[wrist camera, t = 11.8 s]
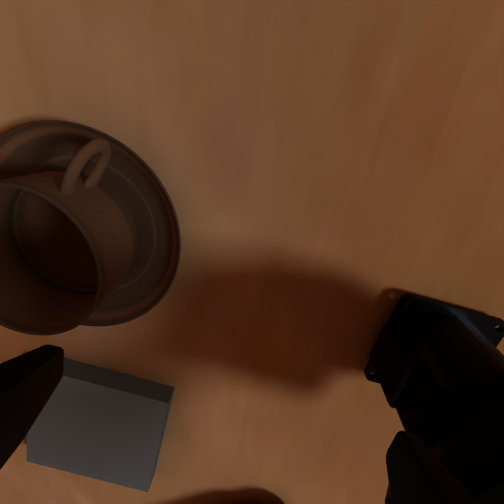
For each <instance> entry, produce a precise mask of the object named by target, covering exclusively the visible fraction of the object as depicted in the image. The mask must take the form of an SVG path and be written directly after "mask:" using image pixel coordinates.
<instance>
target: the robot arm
mask: <svg viewBox="0 0 504 504" xmlns="http://www.w3.org/2000/svg"><path fill="white" fill-rule="evenodd" d="M408 301H412V303H411V304H409V305H406V303H407V302H408ZM498 325H499V327H498V328H495V327H496V326H498ZM503 337H504V321H503V320H502V319H500V318H497V317H493V316H490V315H486V314H483V313H479V312H475V311H472V310H468V309H464V308H461V307H457V306H454V305H450V304H446V303H443V302H439V301H435V300H432V299H428V298H425V297H421V296H417V295H414V294H405V295H403V296H402V297H401V298H400V300H399V302H398V304H397V306H396V308H395V310H394V312H393V314H392V316H391V318H390V320H389V322H387V323H386V324H384V326H383V328H382V330H381V332H380V334H379V336H378V338H377V340H376V342H375V344H374V346H373V348H372V350H371V352H370V359H369V361H368V363H367V365H366V367H365V369H364V373H365V376H366V378H367V379H368V380H369V381H372V382H376V383H380V384H381V386H382V389H383V392H384V394H385V397H386V399H387V402H388V404H389V405H390V407H392V408H396V410H397V412H398V415H399V417H400V420H401V422H402V425H403V427H404V430H405V431H399V432H398V433H397V434H396V436H395V438H394V439H393V441H392V443H391V445H390V447H389V448H388V450H387V454H386V465H387V472H388V480H389V485H388V489H387V494H386V498H385V504H504V355H503V354H502V353H501V352H500V351H499V350H498V349H497V348H496V347H497V345H498V344H499V342H500V341H501V340H502V338H503ZM63 372H64V351H63V349H62V348H61V347H57V346H53V345H44V346H41V347H39V348H37V349H34V350H32V351H29V352H27V353H25V354H22V355H20V356H18V357H15V358H13V359H10V360H8V361H6V362H3V363H1V364H0V469H1V468H2V467H3V465H4V464H5V463H6V462H7V460H8V459H9V458H10V456H11V455H12V454H13V452H14V451H15V450H16V449H17V447H18V446H19V444H20V443H21V442H22V440H23V439H24V438H25V436H26V435H27V433H28V432H29V430H30V429H31V427H32V425H33V424H34V422H35V421H36V419H37V418H38V416H39V414H40V413H41V411H42V410H43V408H44V406H45V405H46V403H47V402H48V400H49V399H50V397H51V395H52V394H53V392H54V391H55V389H56V387H57V386H58V384H59V383H60V381H61V379H62V376H63ZM372 372H375V373H374V374H370V373H372Z"/></svg>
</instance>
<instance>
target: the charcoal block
mask: <svg viewBox="0 0 504 504" xmlns="http://www.w3.org/2000/svg"><path fill="white" fill-rule="evenodd" d="M174 388H175V387H171V386H168V385H164V384H160V383H156V382H153V381H149V380H145V379H141V378H138V377H134V376H130V375H127V374H123V373H119V372H115V371H112V370H108V369H104V368H100V367H97V366H93V365H89V364H85V363H82V362H78V361H74V360H70V359H67V358H64V372H63V376H62V379H61V381H60V383H59V384H58V386H57V387H56V389H55V391H54V392H53V394H52V395H51V397H50V399H49V400H48V402H47V403H46V405H45V406H44V408H43V410H42V411H41V413H40V414H39V416H38V418H37V419H36V421H35V422H34V424H33V425H32V427H31V429H30V430H29V432H28V433H27V461H28V462H32V463H36V464H40V465H44V466H48V467H52V468H56V469H60V470H64V471H67V472H71V473H75V474H79V475H83V476H87V477H91V478H95V479H99V480H103V481H106V482H110V483H114V484H118V485H122V486H126V487H130V488H134V489H138V490H142V491H146V492H148V490H149V488H150V485H151V482H152V479H153V476H154V473H155V469H156V465H157V460H158V456H159V452H160V448H161V443H162V439H163V435H164V431H165V426H166V422H167V418H168V414H169V409H170V405H171V401H172V397H173V392H174Z"/></svg>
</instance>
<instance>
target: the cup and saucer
mask: <svg viewBox="0 0 504 504" xmlns="http://www.w3.org/2000/svg"><path fill="white" fill-rule="evenodd" d="M180 251H181V237H180V228H179V223H178V218H177V215H176V212H175V209H174V206H173V204H172V201H171V199H170V197H169V195H168V193H167V191H166V189H165V187H164V186H163V184H162V183H161V181H160V180H159V178H158V177H157V176H156V174H155V173H154V172H153V170H152V169H151V168H150V167H149V166H148V165H147V164H146V162H145V161H144V160H142V159H141V158H140V157H139V156H138V155H137V154H136V153H135V152H134V151H132V150H131V149H130V148H128V147H127V146H126V145H124V144H123V143H121V142H120V141H118V140H117V139H115V138H113V137H111V136H109V135H107V134H105V133H103V132H101V131H98V130H96V129H93V128H91V127H87V126H84V125H81V124H77V123H72V122H66V121H38V122H32V123H28V124H24V125H21V126H18V127H16V128H13V129H11V130H10V131H8V132H6V133H4V134H3V135H1V136H0V325H2V326H4V327H6V328H9V329H11V330H14V331H17V332H21V333H25V334H31V335H54V334H60V333H63V332H66V331H69V330H71V329H73V328H75V327H77V326H78V325H85V326H111V325H117V324H122V323H125V322H128V321H131V320H134V319H136V318H138V317H140V316H142V315H143V314H145V313H147V312H148V311H149V310H151V309H152V308H153V307H154V306H156V305H157V304H158V303H159V302H160V301H161V299H162V298H163V297H164V296H165V294H166V293H167V291H168V290H169V288H170V286H171V284H172V282H173V280H174V278H175V275H176V272H177V269H178V264H179V260H180Z"/></svg>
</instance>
